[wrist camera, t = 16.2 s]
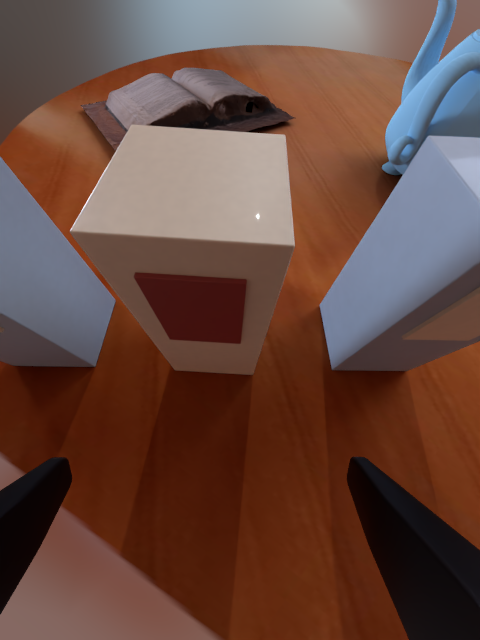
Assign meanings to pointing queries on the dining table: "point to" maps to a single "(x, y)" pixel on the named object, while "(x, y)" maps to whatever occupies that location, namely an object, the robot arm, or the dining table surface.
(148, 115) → the book
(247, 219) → the cream block
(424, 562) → the robot arm
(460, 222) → the block right
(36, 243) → the block left
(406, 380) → the dining table surface
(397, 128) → the teapot
